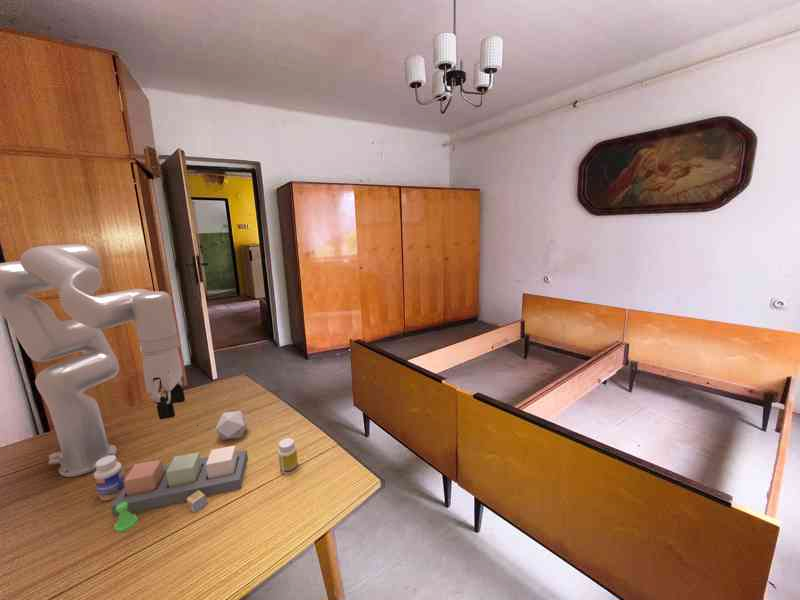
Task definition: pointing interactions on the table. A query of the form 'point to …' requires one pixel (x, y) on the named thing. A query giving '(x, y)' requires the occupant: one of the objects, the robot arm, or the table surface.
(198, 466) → the green block
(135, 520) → the game piece
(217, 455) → the cream block
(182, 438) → the table surface
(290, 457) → the supplement bottle
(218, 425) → the die
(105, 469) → the pill bottle
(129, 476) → the terracotta block
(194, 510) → the alphabet block
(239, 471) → the board
